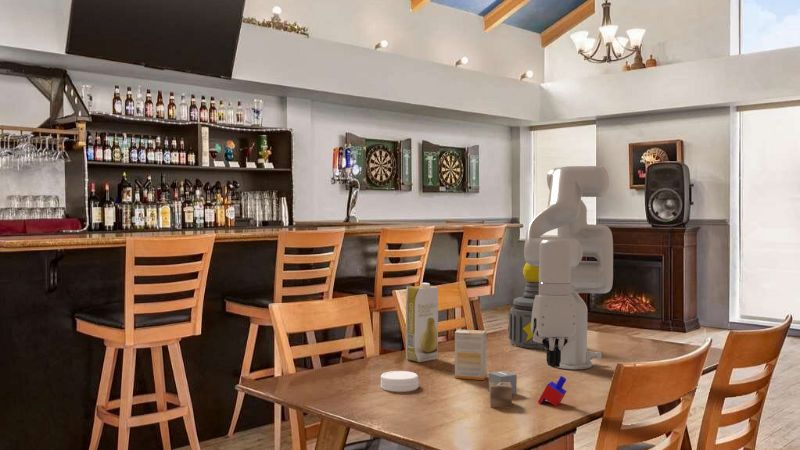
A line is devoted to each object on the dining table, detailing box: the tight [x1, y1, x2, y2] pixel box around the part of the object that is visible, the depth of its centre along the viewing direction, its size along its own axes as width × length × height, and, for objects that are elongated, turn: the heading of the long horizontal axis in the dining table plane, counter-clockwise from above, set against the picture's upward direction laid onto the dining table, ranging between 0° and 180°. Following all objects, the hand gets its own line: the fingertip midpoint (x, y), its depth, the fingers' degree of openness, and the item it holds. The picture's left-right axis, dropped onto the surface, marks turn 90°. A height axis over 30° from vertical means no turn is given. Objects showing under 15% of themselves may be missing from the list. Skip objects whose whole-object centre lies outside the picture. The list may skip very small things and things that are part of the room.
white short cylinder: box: [380, 370, 419, 393], centre depth 184 cm, size 10×10×4 cm
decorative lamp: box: [507, 262, 554, 350], centre depth 244 cm, size 19×19×30 cm
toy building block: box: [537, 376, 567, 407], centre depth 169 cm, size 4×4×8 cm
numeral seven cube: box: [488, 382, 513, 409], centre depth 168 cm, size 5×5×5 cm
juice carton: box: [405, 282, 439, 363], centre depth 218 cm, size 9×8×24 cm
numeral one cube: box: [488, 370, 518, 395], centre depth 179 cm, size 5×5×5 cm
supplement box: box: [454, 329, 488, 381], centre depth 195 cm, size 8×5×13 cm, turn 71°
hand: (553, 365), depth 169 cm, fingers closed
